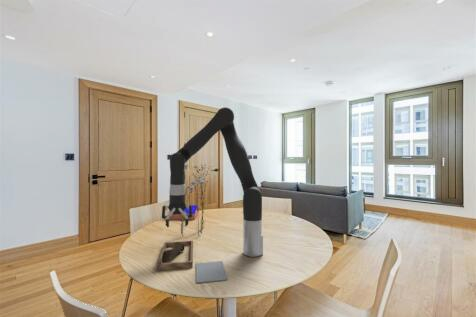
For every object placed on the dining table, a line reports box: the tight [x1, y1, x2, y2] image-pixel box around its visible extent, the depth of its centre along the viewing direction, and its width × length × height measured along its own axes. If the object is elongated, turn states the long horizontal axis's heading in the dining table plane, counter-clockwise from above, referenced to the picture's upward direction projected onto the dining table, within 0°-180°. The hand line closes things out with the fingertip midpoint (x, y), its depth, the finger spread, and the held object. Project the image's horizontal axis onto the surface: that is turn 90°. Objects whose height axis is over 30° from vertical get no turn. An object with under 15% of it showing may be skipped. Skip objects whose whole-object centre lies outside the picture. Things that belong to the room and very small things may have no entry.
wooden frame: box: [156, 240, 194, 272], centre depth 110 cm, size 15×26×2 cm, turn 11°
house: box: [168, 204, 199, 221], centre depth 175 cm, size 12×20×12 cm, turn 87°
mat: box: [195, 260, 228, 284], centre depth 95 cm, size 12×16×1 cm
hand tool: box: [162, 243, 185, 263], centre depth 106 cm, size 19×4×5 cm, turn 167°
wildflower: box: [180, 163, 211, 238], centre depth 139 cm, size 22×23×45 cm
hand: (177, 226), depth 110 cm, fingers open, 8 cm apart
